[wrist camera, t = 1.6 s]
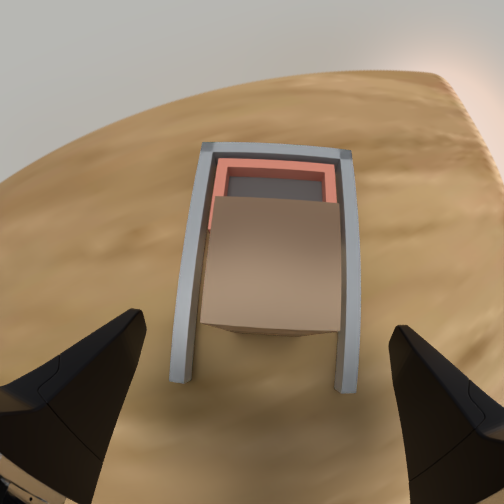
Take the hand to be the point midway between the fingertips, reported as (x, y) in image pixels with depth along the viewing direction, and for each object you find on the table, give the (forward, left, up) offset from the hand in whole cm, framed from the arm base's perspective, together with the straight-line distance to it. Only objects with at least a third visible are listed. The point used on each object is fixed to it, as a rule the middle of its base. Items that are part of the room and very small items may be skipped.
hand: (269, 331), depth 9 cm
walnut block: (+1, -2, -10) cm, 11 cm away
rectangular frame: (+6, -8, -10) cm, 14 cm away
